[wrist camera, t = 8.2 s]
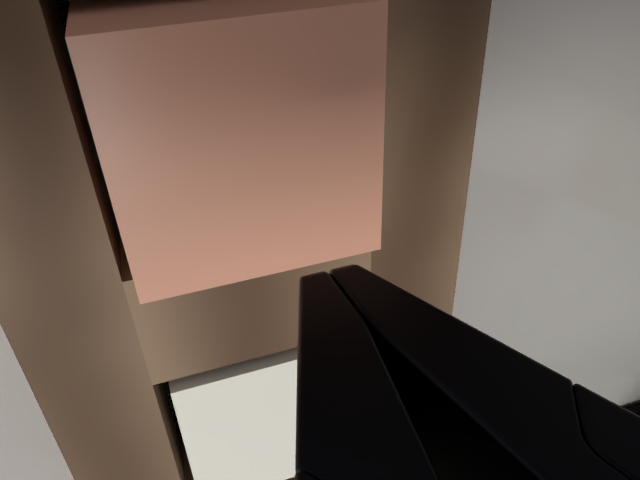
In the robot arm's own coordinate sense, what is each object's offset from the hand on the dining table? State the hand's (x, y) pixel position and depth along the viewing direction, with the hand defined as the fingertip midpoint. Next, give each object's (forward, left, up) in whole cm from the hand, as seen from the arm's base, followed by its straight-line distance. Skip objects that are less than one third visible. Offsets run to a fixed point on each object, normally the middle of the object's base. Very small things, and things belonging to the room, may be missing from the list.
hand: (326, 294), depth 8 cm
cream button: (0, +10, -9) cm, 13 cm away
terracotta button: (0, 0, -7) cm, 7 cm away
